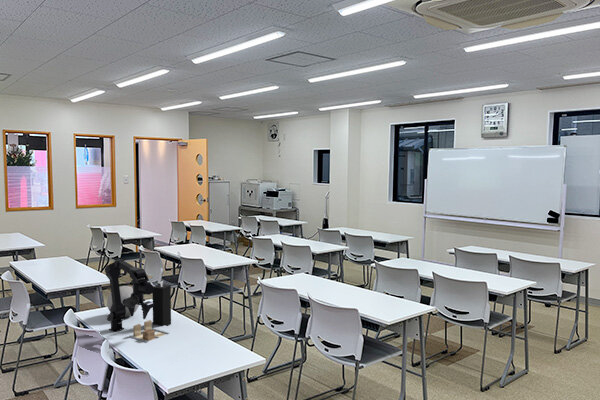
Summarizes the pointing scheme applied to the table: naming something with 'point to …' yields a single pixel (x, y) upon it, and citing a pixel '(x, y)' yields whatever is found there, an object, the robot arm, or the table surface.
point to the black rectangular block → (162, 304)
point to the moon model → (125, 293)
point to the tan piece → (138, 331)
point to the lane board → (145, 340)
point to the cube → (148, 334)
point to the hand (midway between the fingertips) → (138, 317)
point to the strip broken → (149, 326)
